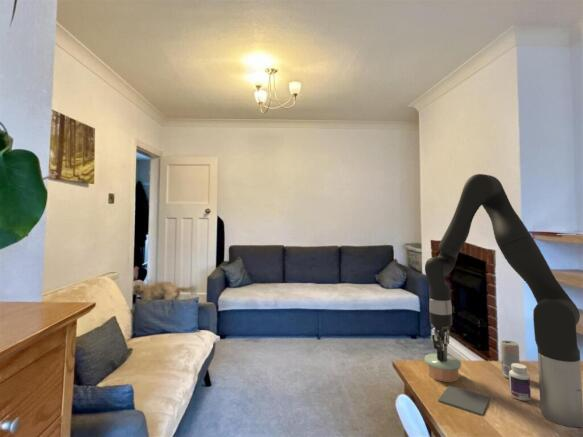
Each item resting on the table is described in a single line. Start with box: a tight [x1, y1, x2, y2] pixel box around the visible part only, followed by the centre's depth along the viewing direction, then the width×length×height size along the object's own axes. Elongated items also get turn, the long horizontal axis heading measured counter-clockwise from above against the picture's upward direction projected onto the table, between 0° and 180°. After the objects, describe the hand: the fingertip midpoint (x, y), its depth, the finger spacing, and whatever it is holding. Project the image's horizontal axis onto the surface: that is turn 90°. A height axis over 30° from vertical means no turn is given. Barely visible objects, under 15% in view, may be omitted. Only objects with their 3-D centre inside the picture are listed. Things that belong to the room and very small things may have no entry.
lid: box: [424, 345, 462, 370], centre depth 115 cm, size 12×12×6 cm
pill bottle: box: [508, 363, 532, 402], centre depth 100 cm, size 5×5×10 cm
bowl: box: [426, 363, 460, 383], centre depth 115 cm, size 10×10×5 cm
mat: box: [437, 384, 491, 417], centre depth 99 cm, size 12×12×1 cm
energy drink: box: [500, 340, 521, 380], centre depth 113 cm, size 5×5×12 cm
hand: (442, 358), depth 115 cm, fingers closed on lid, 3 cm apart
